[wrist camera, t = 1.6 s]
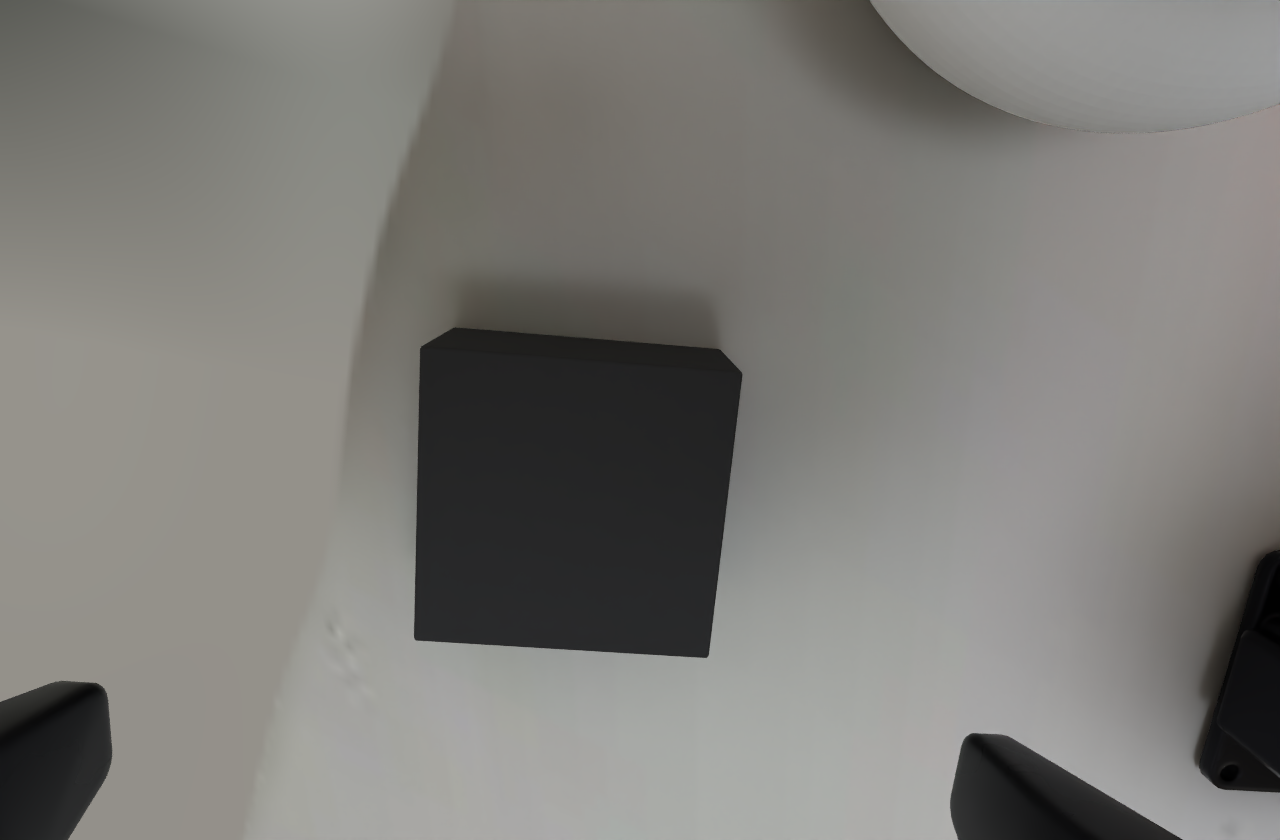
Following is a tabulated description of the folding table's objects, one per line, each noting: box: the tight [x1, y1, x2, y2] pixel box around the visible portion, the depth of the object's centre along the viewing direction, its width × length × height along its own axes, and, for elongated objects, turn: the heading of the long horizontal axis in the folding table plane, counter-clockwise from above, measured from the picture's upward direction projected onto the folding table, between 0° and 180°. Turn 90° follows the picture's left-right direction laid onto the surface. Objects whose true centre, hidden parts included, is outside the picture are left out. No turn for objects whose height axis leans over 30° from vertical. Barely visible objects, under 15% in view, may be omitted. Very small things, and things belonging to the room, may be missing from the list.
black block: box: [414, 328, 742, 658], centre depth 16 cm, size 6×6×3 cm
